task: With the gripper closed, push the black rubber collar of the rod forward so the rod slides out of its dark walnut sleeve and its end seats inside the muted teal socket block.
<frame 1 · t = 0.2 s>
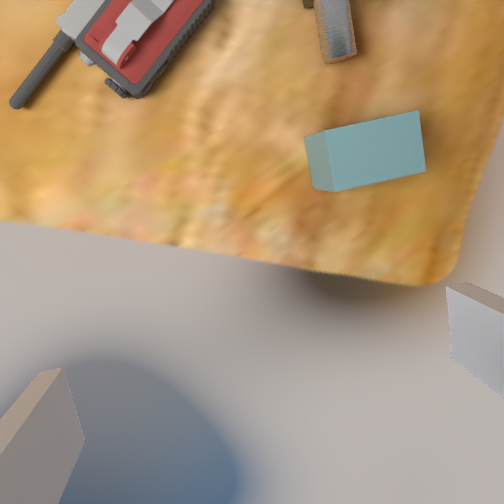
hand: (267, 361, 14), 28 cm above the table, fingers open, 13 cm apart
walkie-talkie: (119, 48, 37), on the table
socket: (347, 154, 41), on the table
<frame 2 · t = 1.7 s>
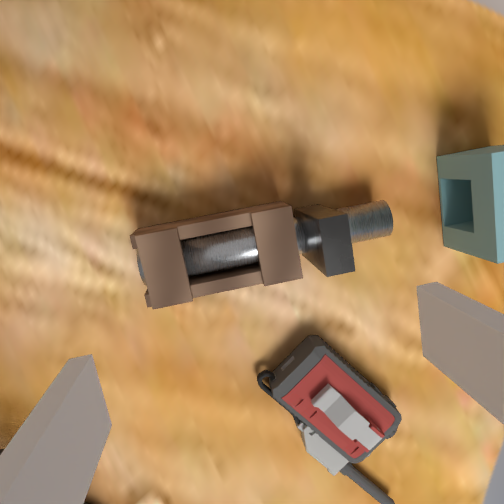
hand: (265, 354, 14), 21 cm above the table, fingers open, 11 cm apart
rod: (270, 247, 31), point 4 cm above the table, slide at 0.0 cm
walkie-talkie: (343, 415, 40), on the table
sleeve: (216, 247, 35), on the table
socket: (467, 197, 37), on the table
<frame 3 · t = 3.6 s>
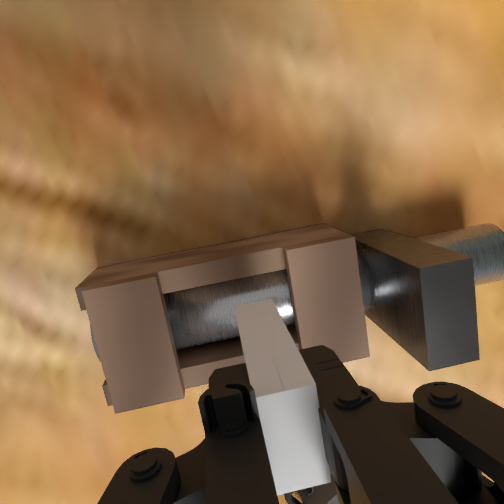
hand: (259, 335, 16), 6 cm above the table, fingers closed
rod: (316, 305, 18), point 4 cm above the table, slide at 0.0 cm
sleeve: (223, 295, 22), on the table
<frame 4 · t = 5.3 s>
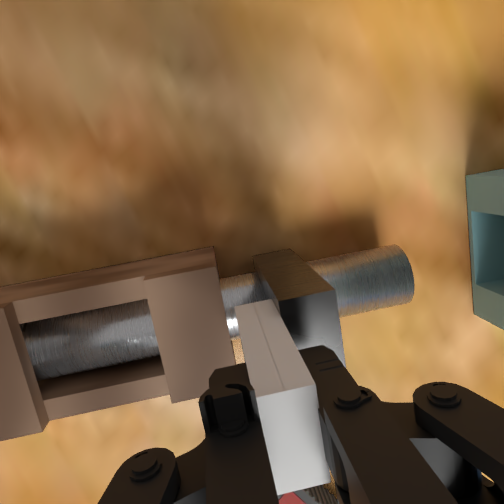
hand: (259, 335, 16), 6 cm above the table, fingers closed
rod: (202, 331, 18), point 4 cm above the table, slide at 0.9 cm, touching gripper
sleeve: (109, 319, 22), on the table
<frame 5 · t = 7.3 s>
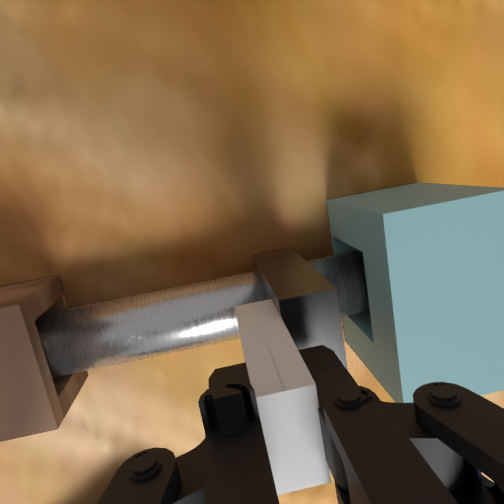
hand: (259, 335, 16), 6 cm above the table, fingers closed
rod: (202, 331, 18), point 4 cm above the table, slide at 8.7 cm, touching gripper
socket: (380, 264, 22), on the table
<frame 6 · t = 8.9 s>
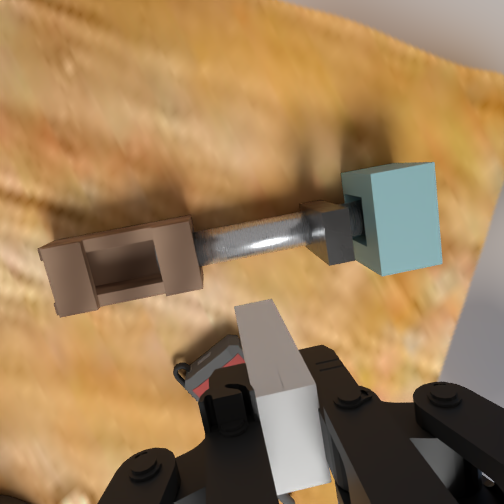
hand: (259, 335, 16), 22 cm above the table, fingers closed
rod: (277, 238, 34), point 4 cm above the table, slide at 8.7 cm
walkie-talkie: (255, 414, 42), on the table
sleeve: (131, 257, 37), on the table
socket: (372, 211, 39), on the table
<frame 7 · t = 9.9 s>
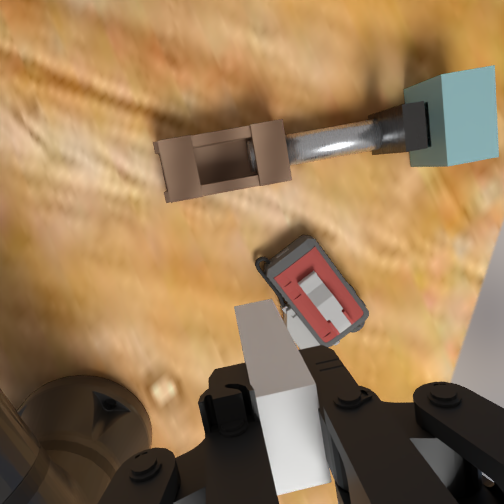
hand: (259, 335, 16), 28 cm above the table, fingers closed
rod: (355, 137, 39), point 4 cm above the table, slide at 8.7 cm
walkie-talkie: (320, 312, 48), on the table
sleeve: (221, 162, 42), on the table
socket: (429, 124, 44), on the table
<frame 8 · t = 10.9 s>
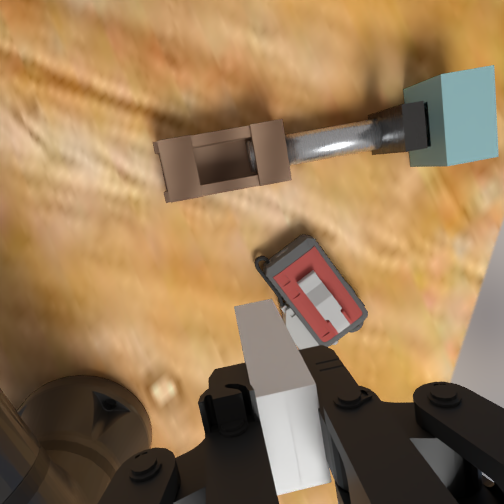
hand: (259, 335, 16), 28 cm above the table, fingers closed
rod: (355, 137, 39), point 4 cm above the table, slide at 8.7 cm
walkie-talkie: (319, 312, 48), on the table
sleeve: (221, 162, 42), on the table
socket: (429, 124, 44), on the table
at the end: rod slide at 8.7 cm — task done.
